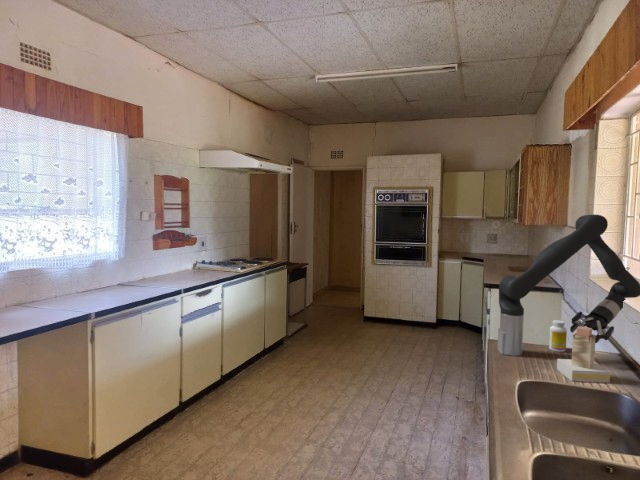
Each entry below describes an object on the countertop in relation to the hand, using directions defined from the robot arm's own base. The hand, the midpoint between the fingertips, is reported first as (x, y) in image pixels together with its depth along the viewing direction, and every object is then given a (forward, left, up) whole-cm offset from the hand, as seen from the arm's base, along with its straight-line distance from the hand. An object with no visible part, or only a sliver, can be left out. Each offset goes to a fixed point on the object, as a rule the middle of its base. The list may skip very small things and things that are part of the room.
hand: (582, 336), depth 174 cm
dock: (-6, -13, -11) cm, 18 cm away
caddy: (-6, -13, -7) cm, 16 cm away
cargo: (-6, -13, +3) cm, 15 cm away
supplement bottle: (-2, +17, -11) cm, 20 cm away
